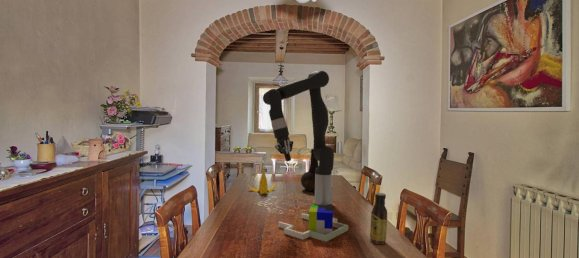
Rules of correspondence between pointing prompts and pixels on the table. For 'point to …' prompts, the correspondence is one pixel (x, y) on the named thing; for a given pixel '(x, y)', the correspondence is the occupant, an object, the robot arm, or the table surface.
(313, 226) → the puzzle toy
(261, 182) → the banana peel
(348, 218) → the table surface
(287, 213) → the table surface
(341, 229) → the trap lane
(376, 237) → the sauce bottle
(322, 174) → the robot arm
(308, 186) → the glass bottle
